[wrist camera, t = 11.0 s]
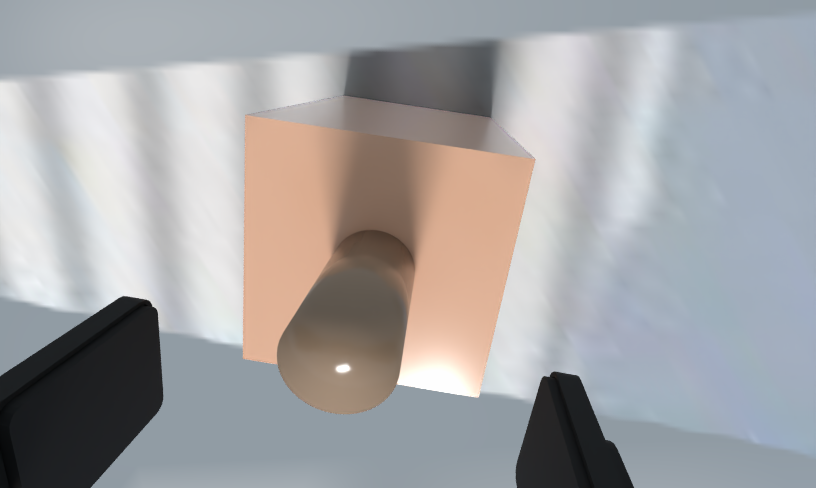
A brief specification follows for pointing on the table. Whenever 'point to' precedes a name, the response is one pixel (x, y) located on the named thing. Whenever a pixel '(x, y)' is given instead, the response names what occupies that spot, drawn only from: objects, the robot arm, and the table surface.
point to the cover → (377, 246)
